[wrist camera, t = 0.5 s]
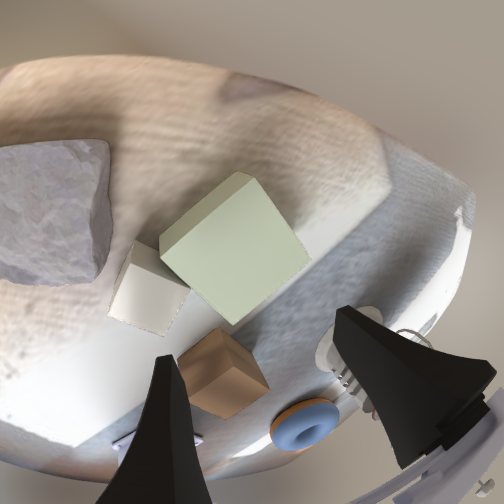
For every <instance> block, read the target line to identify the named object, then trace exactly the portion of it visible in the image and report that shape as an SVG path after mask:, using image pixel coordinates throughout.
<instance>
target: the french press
mask: <svg viewBox="0 0 504 504" xmlns="http://www.w3.org/2000/svg"><path fill="white" fill-rule="evenodd" d="M356 310H357V311H359V312H361V313H362V314H364V315H366V316H367V317H369V318H371V319H372V320H374V321H376V322H377V323H379V324H381V325H383V324H382V323H383V317H382V315H381V313H380V310H379V309H377V308H374V307H372V306H365V307H358V308H356ZM334 326H335V323H334V324H333V325H332V326H331V327H330V328H329V329H328V331H327V332H326V333H325V335H324V336H323V337H322V339H321V340H320V342H319V345H318V347H317V350H316V353H315V360H316V365H317V366H318V367H319V368H320V369H321V370H322V371H325V372H333V373H334V375H335V376H336V377H337V378H338V379H339V380H341V381H340V382H341V384H342V385H343V386H344V387H346V388H347V389H346V390H347V391H348V393H349V394H351V395H355V396H354V397H352V398H353V399H354V400H355V402H356V403H357V404H358V405H359V407H360V408H361V409H362V410H363V411H364V412H365V413H370V412H373V413H372V418H373V419H374V420H380V418H379V416H378V414H377V412H376V410H375V408H374V406H373V404H372V402H371V400H370V399H369V397H368V395H367V394H366V392H365V391H364V390H363V388H362V387H361V385H360V384H359V382H358V381H357V380H356V378H355V377H354V375H353V374H352V373H351V371H350V370H349V368H348V367H347V365H346V364H345V363H344V361H343V360H342V358H341V356H340V354H339V353H338V351H337V349H336V347H335V345H334V343H333V341H332V339H333V332H334ZM383 326H384V325H383ZM384 327H385V326H384ZM403 331H406V332H409V333H412V334H415V335H416V336H418V337H419V338H420V339H422V340H423V341H424V342H426V343H427V344H428V346H429V347H430V348H431V349H434V348H433V347H432V345H431V344H430V342H429V341H427V340H426V339H425V338H424V337H423V336H421V335H420V334H419V333H417V332H415V331H413V330H409V329H402V330H398V331H397V332H396V333H397V334H398V333H399V332H403ZM339 375H341V376H342V377H343V378H342V377H338V376H339ZM346 382H347V383H348V384H345V383H346ZM352 391H354V392H352ZM391 450H393V448H392V445H391ZM393 451H394V450H393ZM478 482H479V484H480V485H481V486H482V487H481V488H480V489H479V490H478V491H477V492H476V493H475V494H476V495H477V496H479V497H484V496H487V495H488V494H489V493H490V492H491V491H492V490H493V488H494V485H495V483H494V480H493V479H490V480H488V481H487V482H486V483H485V484H483V483H482V482H481V481H480V480H479V481H478Z"/></svg>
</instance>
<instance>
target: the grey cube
mask: <svg viewBox="0 0 504 504" xmlns="http://www.w3.org/2000/svg"><path fill="white" fill-rule="evenodd" d="M190 290H191V288H190V286H189V285H188V284H187V283H185V282H184V281H183V280H182V279H181V278H180V277H179V276H178V275H177V274H176V273H175V272H174V271H173V270H172V269H171V268H170V267H169V266H168V265H167V264H166V263H165V262H164V261H163V260H162V259H161V258H160V251H158V250H155V249H153V248H151V247H149V246H147V245H145V244H143V243H141V242H139V241H137V240H135V241H134V243H133V245H132V247H131V249H130V251H129V253H128V255H127V258H126V260H125V262H124V264H123V266H122V269H121V271H120V273H119V276H118V278H117V280H116V282H115V285H114V288H113V293H112V297H111V302H110V306H109V311H108V316H110V317H112V318H115V319H117V320H120V321H122V322H125V323H127V324H130V325H132V326H135V327H138V328H140V329H143V330H146V331H148V332H151V333H154V334H157V335H159V336H162V337H164V336H165V334H166V332H167V330H168V329H169V327H170V325H171V323H172V321H173V320H174V318H175V316H176V314H177V313H178V311H179V309H180V307H181V306H182V304H183V302H184V300H185V299H186V297H187V295H188V293H189V292H190Z"/></svg>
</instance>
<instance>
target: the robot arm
mask: <svg viewBox="0 0 504 504" xmlns="http://www.w3.org/2000/svg"><path fill="white" fill-rule="evenodd" d="M332 341H333V343H334V345H335V347H336V349H337V351H338V353H339V354H340V356H341V358H342V360H343V361H344V363H345V364H346V365H347V367H348V368H349V370H350V371H351V373H352V374H353V375H354V377H355V378H356V380H357V381H358V382H359V384H360V385H361V387H362V388H363V390H364V391H365V392H366V394H367V395H368V397H369V399H370V400H371V402H372V404H373V406H374V408H375V410H376V412H377V414H378V416H379V418H380V420H381V422H382V424H383V426H384V428H385V430H386V433H387V435H388V437H389V440H390V442H391V445H392V448H393V450H394V453H395V456H396V459H397V462H398V464H399V466H400V468H401V469H402V470H403V469H404V468H406V467H407V466H409V465H410V464H412V463H413V462H414V461H416V460H417V459H419V458H420V457H422V456H423V455H424V454H425V455H426V457H424V458H423V459H422V460H420V461H419V462H417V463H416V464H415V465H413V466H412V467H410V468H409V469H407V470H406V471H404V472H403V473H401V474H400V475H398V476H396V477H395V478H393V479H392V480H390V481H388V482H386V483H385V484H383V485H381V486H380V487H378V488H376V489H374V490H372V491H371V492H369V493H367V494H365V495H363V496H361V497H359V498H357V499H355V500H353V501H351V502H349V503H347V504H375V503H377V502H379V501H381V500H383V499H384V498H386V497H388V496H389V495H391V494H392V493H394V492H396V491H397V490H399V489H401V488H402V487H404V486H405V485H407V484H408V483H410V482H411V481H413V480H414V479H416V478H417V477H419V476H420V475H421V474H422V477H421V480H420V481H418V482H417V483H415V484H413V485H412V486H410V487H408V488H407V489H405V490H404V491H402V492H401V493H400V494H398V495H397V496H395V497H394V498H393V499H392V500H393V501H394V503H395V504H458V503H459V502H460V501H461V500H462V499H463V498H464V497H465V496H466V495H467V494H468V492H469V491H470V490H471V489H472V488H473V487H474V486H475V484H476V483H477V482H478V481H479V480H480V478H481V477H482V476H483V475H484V473H485V472H486V471H487V470H488V468H489V467H490V466H491V464H492V463H493V461H494V460H495V459H496V457H497V456H498V455H499V453H500V452H501V450H502V449H503V447H504V390H503V388H502V387H500V388H499V389H498V390H497V391H496V392H495V394H494V395H493V396H492V397H491V398H490V399H489V400H488V401H487V403H485V402H484V401H483V399H484V398H485V396H484V394H483V393H482V392H483V391H484V390H485V388H486V387H487V386H488V385H489V383H490V382H491V381H492V380H493V378H494V377H495V375H496V373H497V371H496V370H495V369H494V368H493V367H492V366H491V365H490V363H489V362H488V361H486V360H480V359H471V358H464V357H459V356H455V355H451V354H446V353H443V352H440V351H437V350H434V349H431V348H428V347H426V346H423V345H421V344H418V343H416V342H413V341H411V340H409V339H407V338H405V337H403V336H401V335H399V334H397V333H395V332H393V331H391V330H390V329H388V328H386V327H384V326H383V325H381V324H379V323H377V322H376V321H374V320H372V319H371V318H369V317H367V316H366V315H364V314H362V313H361V312H359V311H357V310H356V309H354V308H352V307H351V306H349V305H347V306H345V307H342V308H339V309H337V311H336V319H335V326H334V332H333V339H332ZM202 442H203V439H202V438H200V437H198V436H195V435H194V433H193V426H192V418H191V410H190V403H189V399H188V394H187V390H186V385H185V382H184V380H183V378H182V376H181V373H180V371H179V369H178V367H177V365H176V363H175V360H174V358H173V356H172V354H170V355H165V356H160V357H157V358H156V361H155V366H154V371H153V376H152V380H151V384H150V388H149V392H148V395H147V399H146V402H145V406H144V409H143V412H142V415H141V418H140V421H139V424H138V426H137V429H136V431H135V432H133V433H132V434H130V435H128V436H127V437H125V438H123V439H121V440H120V441H118V442H116V443H114V444H113V445H112V448H113V449H115V450H118V464H119V468H118V469H117V471H116V473H115V475H114V476H113V478H112V480H111V481H110V483H109V484H108V486H107V487H106V489H105V490H104V492H103V493H102V495H101V496H100V497H99V499H98V500H97V501H96V503H95V504H217V503H216V502H212V501H211V498H210V496H209V493H208V490H207V487H206V484H205V480H204V477H203V474H202V471H201V467H200V464H199V460H198V457H197V452H196V447H195V446H197V445H198V444H200V443H202Z"/></svg>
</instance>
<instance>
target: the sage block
mask: <svg viewBox="0 0 504 504" xmlns="http://www.w3.org/2000/svg"><path fill="white" fill-rule="evenodd" d="M159 250H160V258H161V259H162V260H163V261H164V262H165V263H166V264H167V265H168V266H169V267H170V268H171V269H172V270H173V271H174V272H175V273H176V274H177V275H178V276H179V277H180V278H181V279H182V280H183V281H184V282H185V283H187V284H188V285H189V286H190V287H191V288H192V289H193V290H194V291H195V292H196V293H197V294H198V295H199V296H201V297H202V298H203V299H204V300H205V301H206V302H207V303H208V304H209V305H210V306H211V307H213V308H214V309H215V310H216V311H217V312H218V313H219V314H220V315H222V316H223V317H224V318H225V319H226V320H227V321H228V322H229V323H231V324H232V325H234V324H236V323H237V322H238V321H239V320H241V319H242V318H243V317H244V316H246V315H247V314H248V313H249V312H251V311H252V310H253V309H254V308H255V307H257V306H258V305H259V304H260V303H262V302H263V301H264V300H265V299H266V298H268V297H269V296H270V295H271V294H272V293H274V292H275V291H276V290H277V289H278V288H280V287H281V286H282V285H283V284H284V283H285V282H287V281H288V280H289V279H290V278H291V277H293V276H294V275H295V274H296V273H297V272H298V271H300V270H301V269H302V268H303V267H304V266H305V265H306V264H308V263H309V262H310V261H311V260H312V259H311V257H310V256H309V254H308V253H307V251H306V250H305V248H304V247H303V245H302V244H301V243H300V241H299V240H298V238H297V237H296V235H295V234H294V232H293V231H292V229H291V228H290V227H289V225H288V224H287V222H286V221H285V219H284V218H283V216H282V215H281V214H280V212H279V211H278V209H277V208H276V206H275V205H274V204H273V202H272V201H271V199H270V198H269V197H268V195H267V194H266V192H265V191H264V190H263V188H262V187H261V186H260V184H259V183H258V181H257V180H256V179H255V177H252V176H250V175H247V174H244V173H242V172H239V171H236V172H234V173H233V174H232V175H231V176H229V177H228V178H227V179H226V180H224V181H223V182H222V183H221V184H219V185H218V186H217V187H216V188H215V189H213V190H212V191H211V192H210V193H209V194H207V195H206V196H205V197H204V198H203V199H201V200H200V201H199V202H198V203H197V204H195V205H194V206H193V207H192V208H191V209H190V210H188V211H187V212H186V213H185V214H184V215H183V216H182V217H180V218H179V219H178V220H177V221H176V222H175V223H174V224H172V225H171V226H170V227H169V228H168V229H167V230H166V231H165V232H164V233H162V234H161V235H160V236H159Z"/></svg>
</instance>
